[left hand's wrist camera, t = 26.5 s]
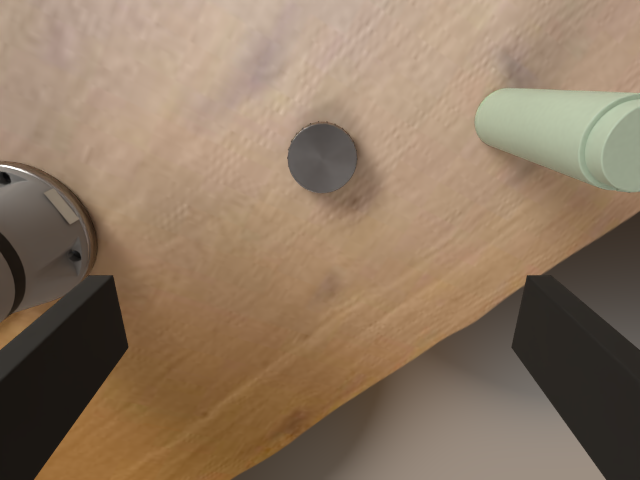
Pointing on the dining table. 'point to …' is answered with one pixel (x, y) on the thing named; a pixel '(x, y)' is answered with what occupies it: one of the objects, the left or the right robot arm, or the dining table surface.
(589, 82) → the dining table surface
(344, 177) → the lid
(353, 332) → the dining table surface
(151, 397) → the dining table surface
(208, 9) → the dining table surface
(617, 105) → the jar
